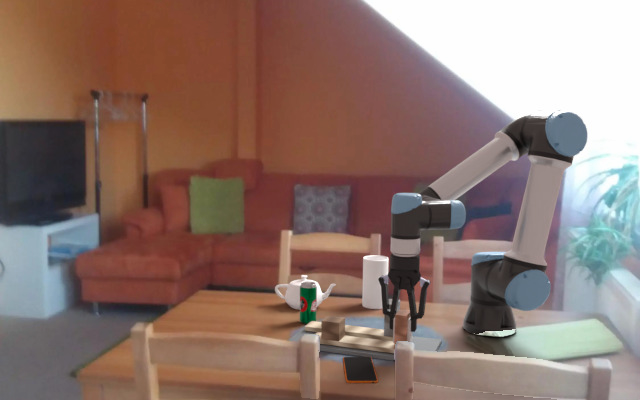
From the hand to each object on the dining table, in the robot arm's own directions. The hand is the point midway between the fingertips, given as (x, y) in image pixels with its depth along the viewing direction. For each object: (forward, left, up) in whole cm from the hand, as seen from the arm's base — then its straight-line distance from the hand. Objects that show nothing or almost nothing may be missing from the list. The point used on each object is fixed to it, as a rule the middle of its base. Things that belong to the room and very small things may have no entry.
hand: (402, 342), depth 177 cm
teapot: (+40, -34, -4) cm, 53 cm away
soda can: (+33, -18, -4) cm, 38 cm away
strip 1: (+17, -9, -2) cm, 19 cm away
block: (+19, 0, -1) cm, 19 cm away
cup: (+19, -43, -4) cm, 47 cm away
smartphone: (+7, +14, -4) cm, 16 cm away
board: (+11, -5, -4) cm, 13 cm away
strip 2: (+11, 0, -2) cm, 12 cm away
